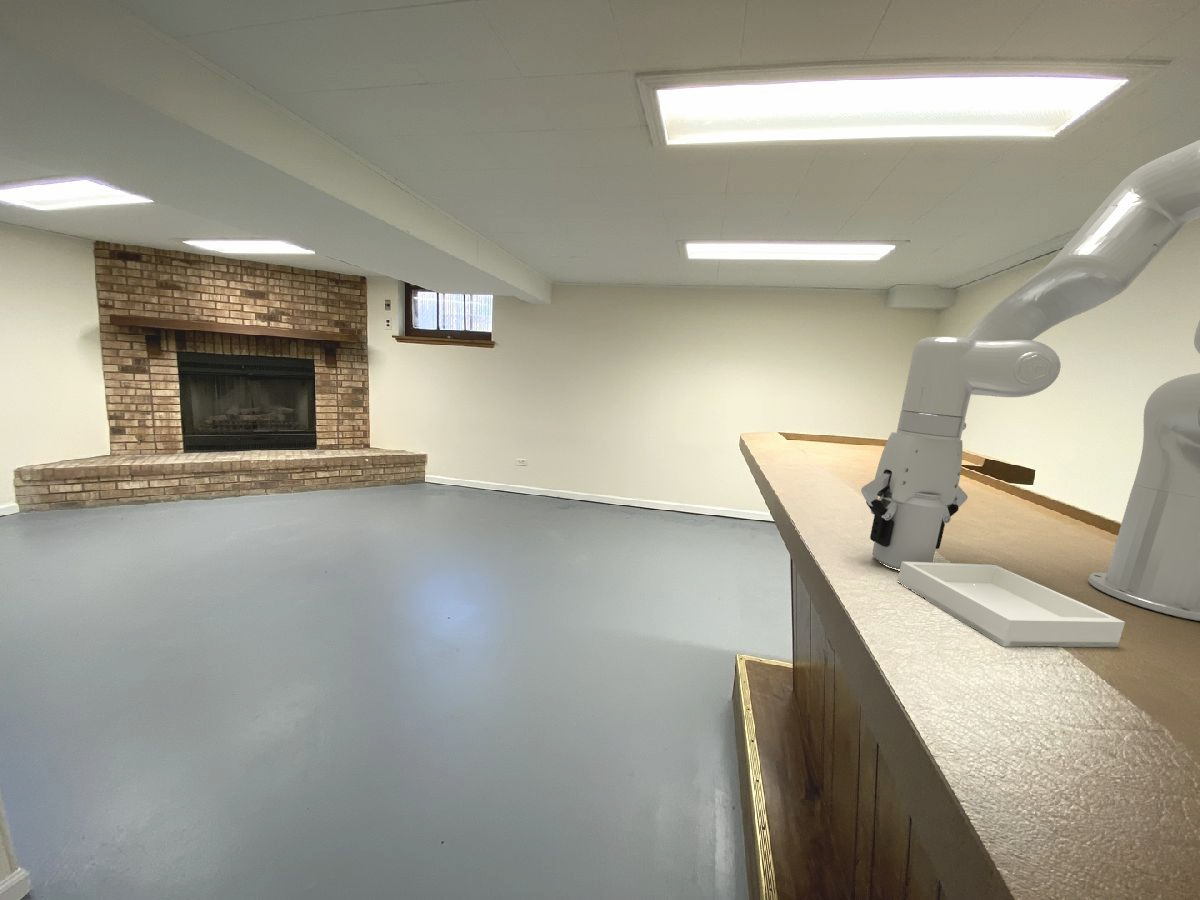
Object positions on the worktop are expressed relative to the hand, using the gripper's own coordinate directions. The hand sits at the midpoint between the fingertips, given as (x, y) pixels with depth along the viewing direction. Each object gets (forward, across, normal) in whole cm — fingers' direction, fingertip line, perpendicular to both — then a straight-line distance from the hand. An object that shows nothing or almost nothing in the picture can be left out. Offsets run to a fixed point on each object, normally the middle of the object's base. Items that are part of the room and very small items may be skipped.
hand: (904, 543), depth 68 cm
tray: (+3, -2, +13) cm, 14 cm away
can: (+4, 0, 0) cm, 4 cm away
